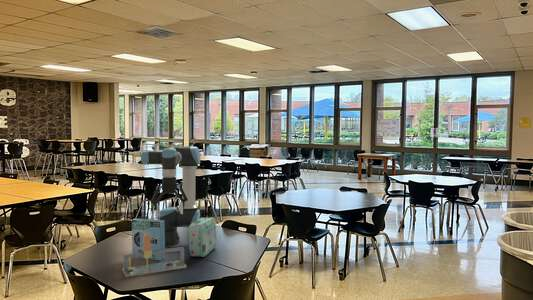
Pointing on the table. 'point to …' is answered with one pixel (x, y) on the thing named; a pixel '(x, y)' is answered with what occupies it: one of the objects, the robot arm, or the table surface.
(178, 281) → the table surface
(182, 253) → the clear acrylic panel
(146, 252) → the cursor
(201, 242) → the lunch box
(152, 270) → the plate
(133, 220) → the gum box
